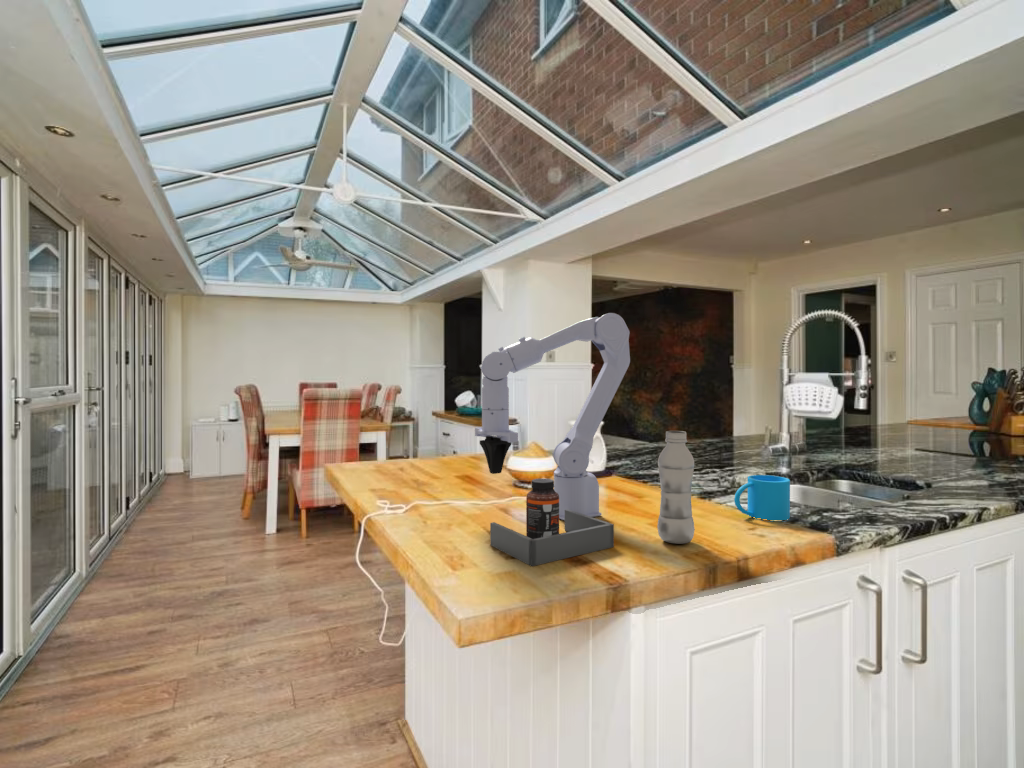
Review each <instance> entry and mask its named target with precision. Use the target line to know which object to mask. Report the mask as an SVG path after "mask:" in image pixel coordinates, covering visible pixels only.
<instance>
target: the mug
mask: <svg viewBox="0 0 1024 768" xmlns="http://www.w3.org/2000/svg"><path fill="white" fill-rule="evenodd" d="M746 489H747V510H746V509H744V507H743V505H741V502H740V499H741V495H742V494H743V492H744V491H745V490H746ZM733 499H734V505H735V507H736V509H737V510H738V511H739V512H741V513H742V514H743V515H747V516H748V515H749V516H751V517H755V518H761V519H767V520H787V519H789V518H791V480H790V478H788V477H784V476H783V477H782V476H777V475H770V474H769V475H768V474H755V475H754V474H753V475H749V476H747V483H744V484H743V485H741V486H740V487H739V488H738V489H737V490H736V492H735V494H734V498H733ZM749 516H748V517H749ZM751 517H750V518H751ZM789 520H790V519H789ZM787 521H788V520H787Z"/></svg>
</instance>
